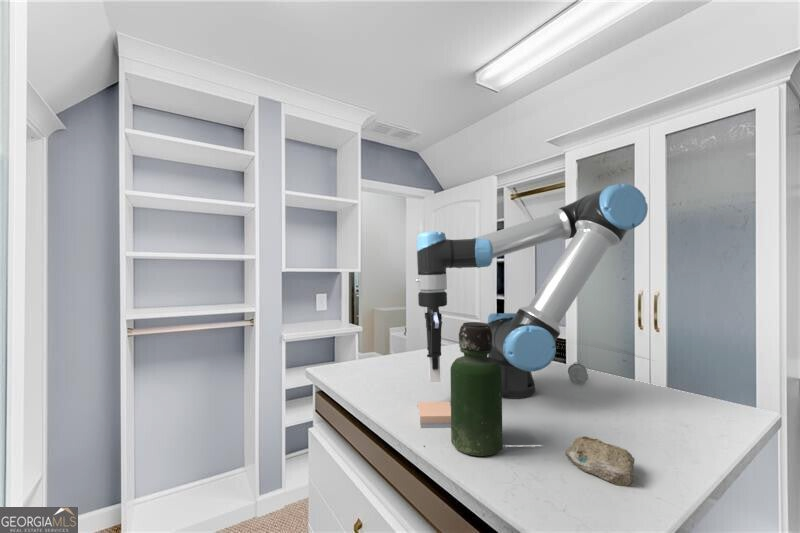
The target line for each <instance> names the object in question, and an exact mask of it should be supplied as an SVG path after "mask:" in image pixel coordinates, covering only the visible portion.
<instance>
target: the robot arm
mask: <svg viewBox="0 0 800 533" xmlns="http://www.w3.org/2000/svg"><path fill="white" fill-rule="evenodd" d="M648 206H649V205H648V203H647V200H646V196H645V195H644V193H643V192H642V191H641V190H640V189H638V188H637V187H636V186H634V185H632V184H628V183H618V184H617V183H616V184H611V185H608V186H606V187H604V188H603V189H600V190H598V191H595V192H593V193H590V194H588V195H585V196H583V197H581V198H579V199H577V200H575V201H573V202H571V203H568V204H566V205H565V206H561V207H558V208H556V209H554V210H553V212H552V213H551V214H547V215H545V216H541V217H538V218H535V219H530V220H528V221H525V222H521V223H518V224H514V225H513V226H508V227H505V228H502V229H499V230H496V231H493V232H489V233H486V234H483V235H480V236H477V237H474V238H468V239H467V238H466V239H465V238H464V239H448V238H447V237H446V234H445V232H443V231H425V232H420V233H419V234H418V235H417V240H416V242H417V243H416V260H417V263H416V264H417V278H416V279H415V283H417V288H418V290H419V291H420V292H418V294H417V297H418V298H417V300H418V306H419V307H423V308H426V312H424V319H425V328H426V339H427V340H426V343H427V345H426V346H427V348H426V349H427V352H428V354H426V358H428V380H429V383H435V382H441V356H442V327H443V321H442V319H443V318H442V317H443V316H442V313H441V312H440V307H441V308H442V307H443V308H444V307H445V306H448V292H447V291H446V290H447V289H448V285H447V284H448V282H447V280H448V279H447V278H448V277H447V269H448V268H449V269H453V268H454V269H455V268H456V269H463V268H464V269H465V268H477V269H479V268H486V267H487V268H488V267H490V266H491V265H492V263H493V259H496V258H499V257H502V256H504V255H508V254H509V255H510V254H512V253H515V252H518V251H521V250H524V249H528V248H532V247H536V246H537V245H538V246H539V245H542V244H545V243H547V242H550V241H555V240H557V239H562V240H569V239H571V240H570V242H569V243H568V245H567V247H566V248H565V249H564V250H563V252H562V254H561V255H560V257H559V258H558V260H557V262H556V263H555V265H554V266H553V267H552V269H551V271H550V272H549V274H548V275H547V277H546V278H545V280H544V281H543V283H542V285H541V286H540V287H539V289H538V290H537V292H536V293H535V295H534V297H533V298H532V300H531V302H529V304H528V305H527V306H524V307H519V309H518V310H517V311H516V312H515V313H513V312H512V313H511V312H510V313H509V312H507V313H501V312H500V313H498V312H496V313H495V312H494V313H490V314H488V317H487V322H486V323H487V324H488V326H490V328H491V332H492V349H491V353H489V354H488V356H487V357H489V358H492V359H494V360H496V361H497V363H498V364H499V365H500V367H501V369H502V398H506V399H525V398H530V397H532V396H534V395H535V394H536V384H535V380H534V377H533V374H532V372H538V371H542V370H543V369H546V368H547V367H549V365H550V364H551V363H552V362H553V361H554V358H555V356H556V352H557V347H556V341H557V340H558V338H559V337H560V335H561V329H560V326H559V325H560V323H561V321H562V320H563V318H564V317H565V315H566V313H567V312H568V310H569V309H570V308H571V306H572V305H573V303H574V301H575V300H576V298H577V297H578V296H579V293H580V292H581V290H582V289H583V288H584V286H585V285H586V283H587V281H588V280H589V279H590V277H591V275H593V272H594V270H596V268H597V266H598V265H599V263H600V261H601V260H602V259H603V257H604V255H605V254H606V253H607V251H608V249H609V248H610V247H616V246H619V244H620V243H621V242H622V241H623V238H624V237H625V235H626V234H627V232H628V231H629V230H634V229H635V228H637V227H639V226H640V225H641V224H642V223H643V222H644V221H645V220H646V218H647V215H648V210H649V208H648Z"/></svg>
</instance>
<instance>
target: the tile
mask: <svg viewBox="0 0 800 533" xmlns="http://www.w3.org/2000/svg"><path fill="white" fill-rule="evenodd" d="M417 404H418V405H417V410H418V417H419V424H451V405H450V404H451V402H450V401H418V402H417Z"/></svg>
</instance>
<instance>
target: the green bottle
mask: <svg viewBox="0 0 800 533" xmlns="http://www.w3.org/2000/svg"><path fill="white" fill-rule="evenodd" d="M487 323H488V322H481V321H480V322H479V321H473V322H472V321H471V322H469V321H468V322H467V321H466V322H463V324H462V325H461V326H460V328H459V332H458V345H459V346H458V347H459V350H460V352H461V353H462V354H463V356H459V357H457V358H456V359H454V361H453V362H452V364H451V365H450V404H451V428H450V439H451V441H450V442H451V444H452V445H453V447H454V448H455V449H456V450H458V451H460V452H462V453H464V454H467V455H469V456H477V457H486V456H493V455H496V454H497V453H498V452H500V451H501V450H502V449H503V397H502V369H501V367H500V365H499V364H498V363H497V361H496V360H494V359H492V358H489V357H488V354H489V353H491V349H492V332H491V328H490V326H488V324H487Z"/></svg>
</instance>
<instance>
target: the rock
mask: <svg viewBox="0 0 800 533" xmlns="http://www.w3.org/2000/svg"><path fill="white" fill-rule="evenodd" d="M564 453H565V456H566V458H567V459H568V461H569V462H570V463H571V464H573V465H574V466H575V467H577V469H578V470H581V471H582V472H583V473H589V474H592V475H595V476H597V477H599V478H600V479H602V480H605V481H607V482H609V483H612V484H614V485H616V486H624V487H625V486H630V485H631V484H632V482H634V475H635V474H634V470H633V469H634V464H635V457H634V456H633V455H632V454H631V453H630V452H629V451H628V450H627V449H625V448H623V447H620V446H616V445H614V444H610V443H606V442H603V441H602V440H600V439H598V438H593V437H589V436H578V437H576V438H575V439H574V441H573V442H572V444H571V445H570V446H569V447H568V448H566V449H565V450H564Z"/></svg>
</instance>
